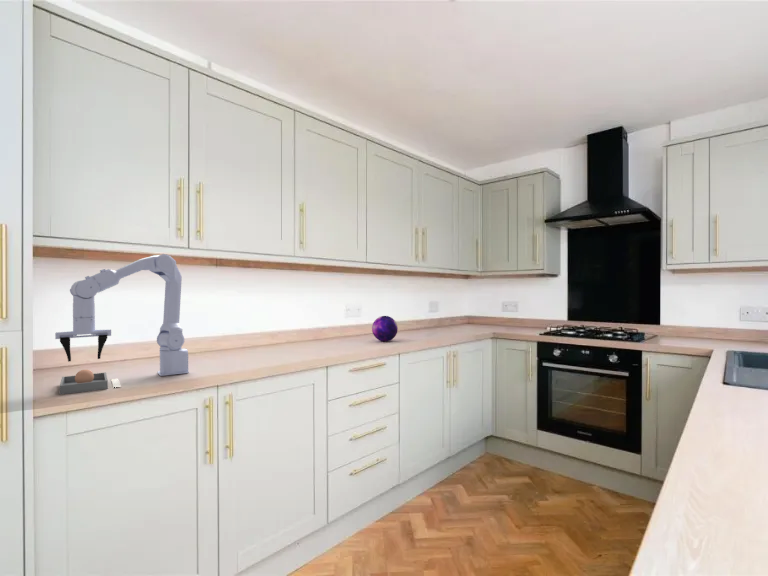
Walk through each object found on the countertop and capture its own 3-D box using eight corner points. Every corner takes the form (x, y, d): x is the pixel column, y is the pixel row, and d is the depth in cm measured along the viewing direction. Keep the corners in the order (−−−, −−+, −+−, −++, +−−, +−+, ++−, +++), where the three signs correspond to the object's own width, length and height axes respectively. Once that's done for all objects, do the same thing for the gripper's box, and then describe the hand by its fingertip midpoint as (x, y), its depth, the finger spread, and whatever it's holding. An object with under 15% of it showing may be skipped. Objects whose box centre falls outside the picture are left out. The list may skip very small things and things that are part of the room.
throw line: (118, 378, 146) (118, 378, 146) (120, 387, 133) (120, 387, 133) (111, 379, 145) (111, 379, 145) (113, 388, 132) (113, 388, 132)
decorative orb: (371, 340, 251) (371, 315, 252) (396, 339, 252) (396, 314, 252) (372, 343, 237) (372, 316, 237) (398, 342, 237) (398, 316, 237)
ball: (94, 382, 137) (94, 367, 137) (93, 385, 133) (93, 370, 133) (75, 384, 135) (75, 369, 135) (74, 387, 131) (74, 371, 131)
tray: (106, 379, 144) (105, 372, 144) (107, 388, 131) (107, 380, 131) (62, 384, 137) (62, 376, 137) (59, 394, 124) (59, 385, 124)
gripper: (110, 315, 142) (110, 355, 142) (56, 317, 133) (56, 360, 133) (111, 316, 136) (111, 358, 136) (54, 319, 127) (55, 363, 127)
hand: (84, 359), depth 134 cm, fingers open, 7 cm apart
